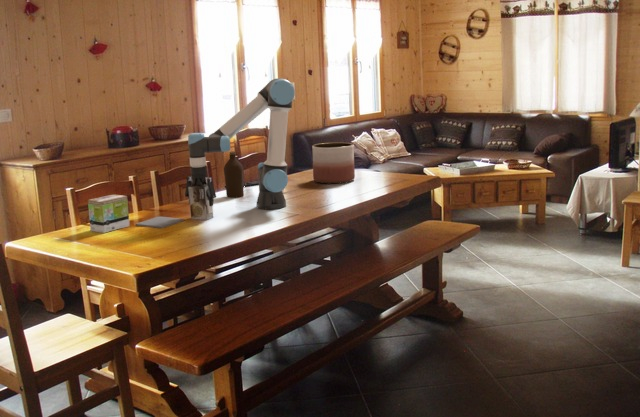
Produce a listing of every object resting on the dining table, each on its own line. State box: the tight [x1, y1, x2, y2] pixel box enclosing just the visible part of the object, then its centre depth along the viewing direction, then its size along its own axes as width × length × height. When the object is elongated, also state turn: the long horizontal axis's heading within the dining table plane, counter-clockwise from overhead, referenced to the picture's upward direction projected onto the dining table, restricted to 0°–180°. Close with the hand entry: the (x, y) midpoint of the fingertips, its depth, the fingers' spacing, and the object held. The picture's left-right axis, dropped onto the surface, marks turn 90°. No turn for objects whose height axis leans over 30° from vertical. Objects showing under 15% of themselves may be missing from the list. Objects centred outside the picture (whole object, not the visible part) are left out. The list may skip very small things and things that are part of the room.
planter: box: [311, 142, 356, 185], centre depth 410 cm, size 25×25×22 cm
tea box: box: [87, 194, 130, 234], centre depth 310 cm, size 15×10×15 cm
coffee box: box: [188, 185, 214, 221], centre depth 324 cm, size 9×6×16 cm
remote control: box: [224, 180, 259, 189], centre depth 409 cm, size 8×32×2 cm, turn 124°
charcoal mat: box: [135, 216, 186, 229], centre depth 319 cm, size 16×16×1 cm
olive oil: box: [223, 150, 245, 199], centre depth 373 cm, size 11×11×25 cm
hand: (201, 211), depth 325 cm, fingers closed on coffee box, 10 cm apart
